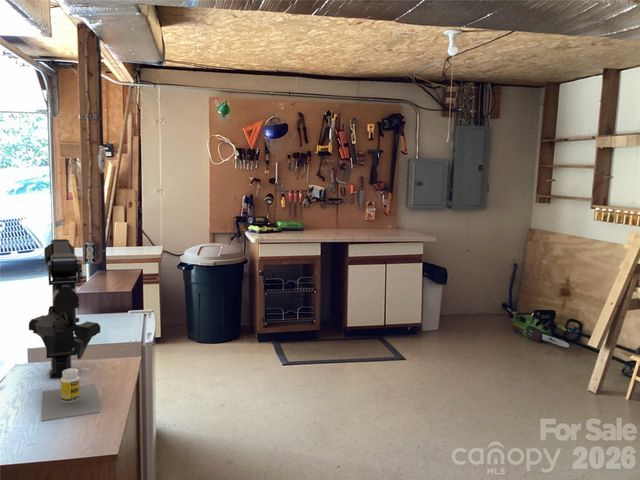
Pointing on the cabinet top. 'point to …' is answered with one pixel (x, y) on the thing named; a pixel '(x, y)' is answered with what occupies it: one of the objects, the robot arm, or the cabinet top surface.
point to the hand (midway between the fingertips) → (65, 356)
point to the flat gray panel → (69, 404)
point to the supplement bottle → (70, 385)
